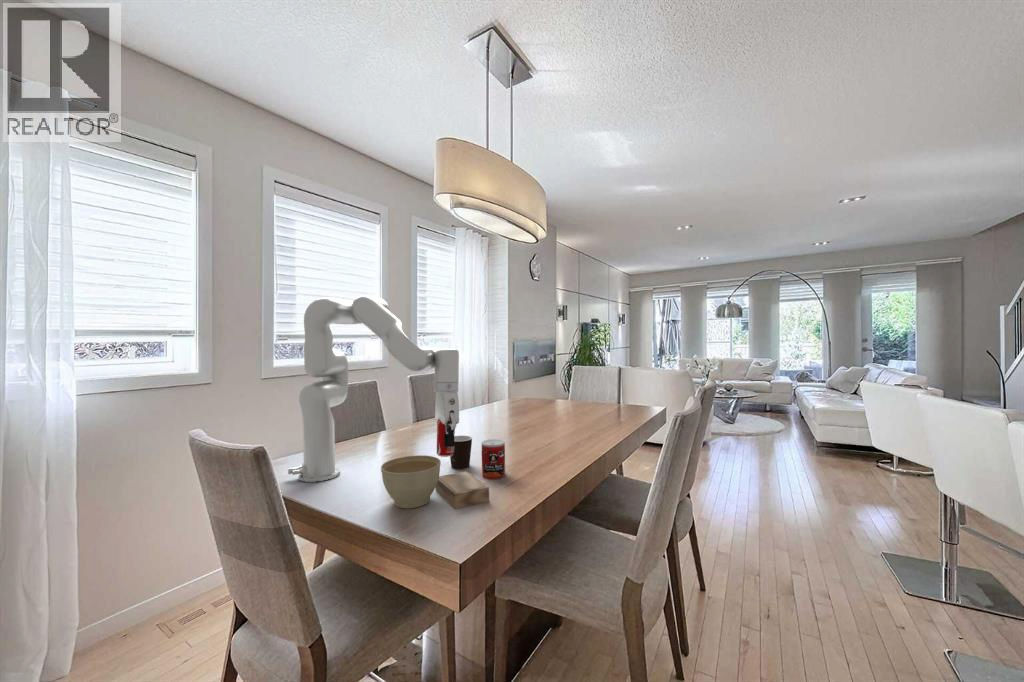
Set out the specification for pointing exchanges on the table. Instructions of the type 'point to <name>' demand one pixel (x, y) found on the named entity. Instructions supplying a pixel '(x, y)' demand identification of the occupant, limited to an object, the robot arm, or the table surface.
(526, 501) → the table surface
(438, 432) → the soda can
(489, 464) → the canned food
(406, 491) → the planter bowl
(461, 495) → the wooden tray
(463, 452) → the coffee mug
